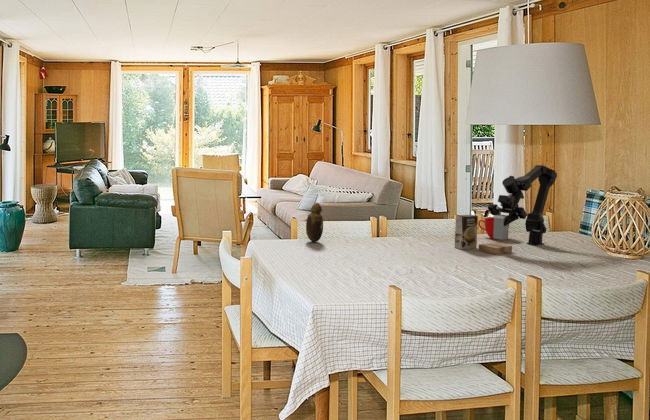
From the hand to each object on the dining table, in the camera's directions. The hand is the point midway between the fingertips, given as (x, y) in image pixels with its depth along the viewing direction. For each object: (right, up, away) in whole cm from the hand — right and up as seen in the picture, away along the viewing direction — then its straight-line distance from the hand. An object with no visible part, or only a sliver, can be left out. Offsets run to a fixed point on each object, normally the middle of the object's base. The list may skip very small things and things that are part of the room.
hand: (499, 224), depth 354 cm
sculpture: (-88, -9, +27) cm, 92 cm away
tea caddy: (+1, -6, +2) cm, 7 cm away
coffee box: (-13, -12, +14) cm, 23 cm away
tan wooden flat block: (-1, -13, +5) cm, 14 cm away
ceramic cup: (+7, -8, +44) cm, 45 cm away
